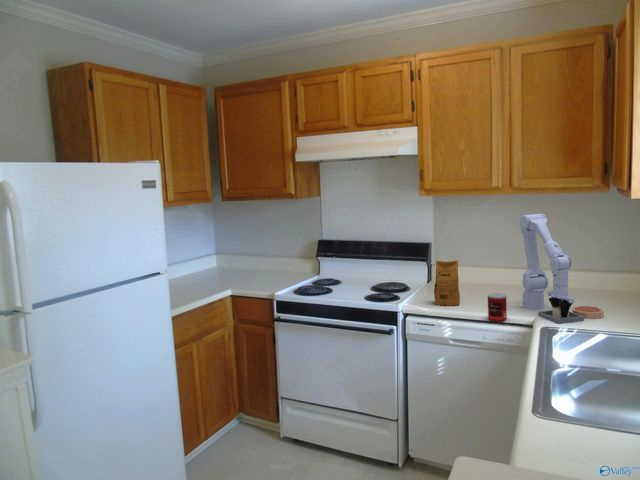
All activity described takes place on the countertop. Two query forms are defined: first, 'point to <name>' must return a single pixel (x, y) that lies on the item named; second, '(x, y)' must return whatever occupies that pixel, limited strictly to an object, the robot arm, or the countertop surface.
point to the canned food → (497, 307)
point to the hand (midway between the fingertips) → (560, 315)
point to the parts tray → (572, 318)
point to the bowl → (588, 312)
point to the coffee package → (447, 283)
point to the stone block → (558, 313)
